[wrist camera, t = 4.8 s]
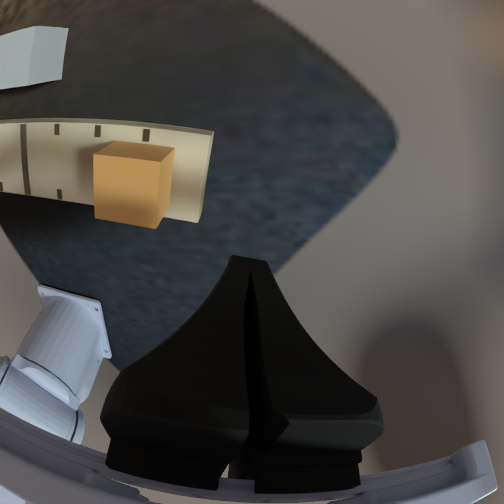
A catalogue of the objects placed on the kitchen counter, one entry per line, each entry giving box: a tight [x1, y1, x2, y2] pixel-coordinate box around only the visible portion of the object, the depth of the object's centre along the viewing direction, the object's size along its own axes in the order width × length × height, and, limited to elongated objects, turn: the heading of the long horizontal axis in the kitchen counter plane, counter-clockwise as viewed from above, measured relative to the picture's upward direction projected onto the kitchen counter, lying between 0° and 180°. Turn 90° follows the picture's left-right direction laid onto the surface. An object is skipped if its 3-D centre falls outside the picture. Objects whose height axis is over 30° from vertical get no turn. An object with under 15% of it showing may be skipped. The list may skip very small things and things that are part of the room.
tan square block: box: [93, 141, 175, 229], centre depth 17 cm, size 4×4×3 cm
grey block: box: [0, 26, 68, 89], centre depth 12 cm, size 4×4×4 cm
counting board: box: [0, 118, 214, 223], centre depth 18 cm, size 6×20×2 cm, turn 79°
